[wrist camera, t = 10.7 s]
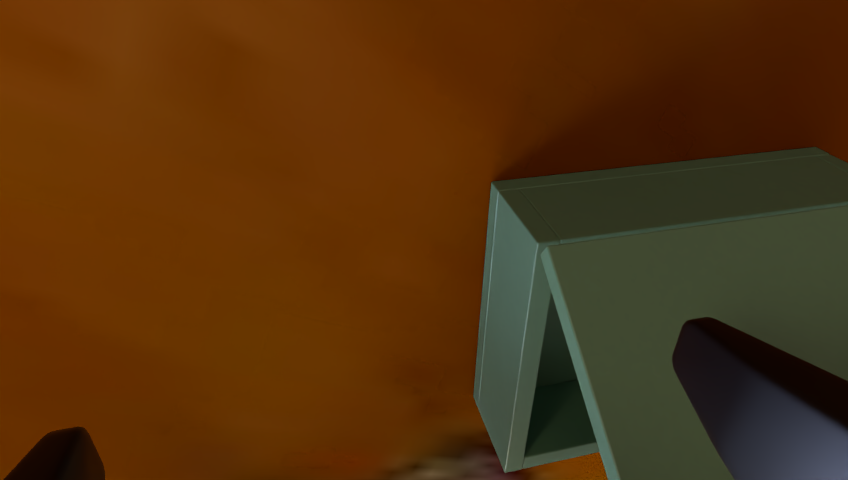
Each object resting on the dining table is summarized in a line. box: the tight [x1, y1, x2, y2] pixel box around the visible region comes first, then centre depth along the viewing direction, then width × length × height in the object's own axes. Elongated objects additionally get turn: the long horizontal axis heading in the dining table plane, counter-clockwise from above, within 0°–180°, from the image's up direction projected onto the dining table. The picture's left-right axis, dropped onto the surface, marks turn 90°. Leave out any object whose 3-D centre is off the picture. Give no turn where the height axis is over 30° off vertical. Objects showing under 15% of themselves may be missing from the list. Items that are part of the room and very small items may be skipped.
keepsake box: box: [473, 147, 848, 473], centre depth 24 cm, size 12×15×4 cm
